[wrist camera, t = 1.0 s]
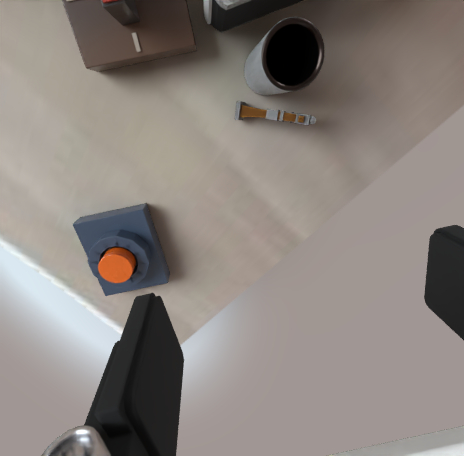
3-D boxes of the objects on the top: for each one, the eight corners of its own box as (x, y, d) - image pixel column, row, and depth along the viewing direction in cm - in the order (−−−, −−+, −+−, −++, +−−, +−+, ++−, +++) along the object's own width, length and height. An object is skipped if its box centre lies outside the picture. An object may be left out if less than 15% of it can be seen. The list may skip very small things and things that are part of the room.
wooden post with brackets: (316, 129, 31) (313, 131, 27) (246, 119, 33) (234, 119, 29) (320, 111, 31) (317, 110, 27) (248, 102, 33) (236, 100, 29)
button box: (80, 217, 34) (65, 230, 30) (146, 203, 34) (139, 215, 30) (110, 286, 38) (100, 305, 34) (170, 273, 38) (166, 291, 34)
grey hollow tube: (245, 97, 30) (262, 94, 21) (242, 47, 29) (259, 19, 19) (287, 93, 31) (323, 88, 21) (287, 43, 29) (326, 13, 19)
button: (98, 250, 32) (92, 258, 30) (130, 244, 32) (125, 251, 30) (110, 277, 33) (105, 286, 32) (140, 271, 33) (137, 279, 32)
